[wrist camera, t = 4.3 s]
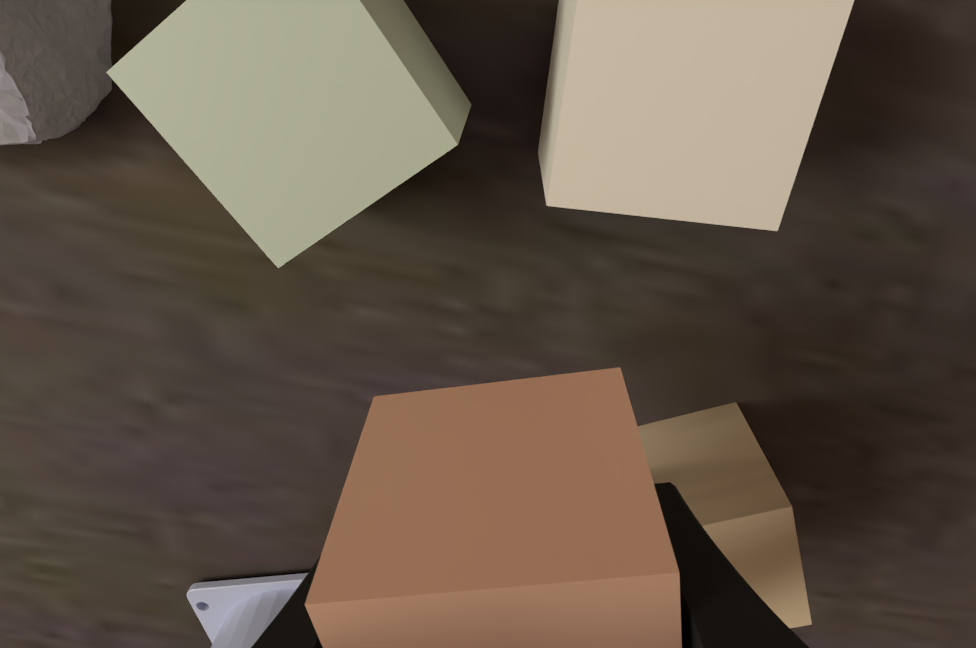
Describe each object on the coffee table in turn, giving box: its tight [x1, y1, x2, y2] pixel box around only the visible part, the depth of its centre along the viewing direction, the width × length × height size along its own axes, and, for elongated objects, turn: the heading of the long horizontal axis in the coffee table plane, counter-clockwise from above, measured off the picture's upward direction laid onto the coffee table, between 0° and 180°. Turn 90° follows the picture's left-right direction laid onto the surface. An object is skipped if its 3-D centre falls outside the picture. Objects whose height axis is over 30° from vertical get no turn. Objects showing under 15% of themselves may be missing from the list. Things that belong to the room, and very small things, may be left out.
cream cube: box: [538, 0, 854, 231], centre depth 15 cm, size 5×5×5 cm
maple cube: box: [637, 402, 812, 628], centre depth 21 cm, size 5×5×5 cm
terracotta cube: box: [305, 368, 682, 648], centre depth 12 cm, size 5×5×5 cm
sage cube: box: [106, 0, 472, 268], centre depth 15 cm, size 5×5×5 cm
